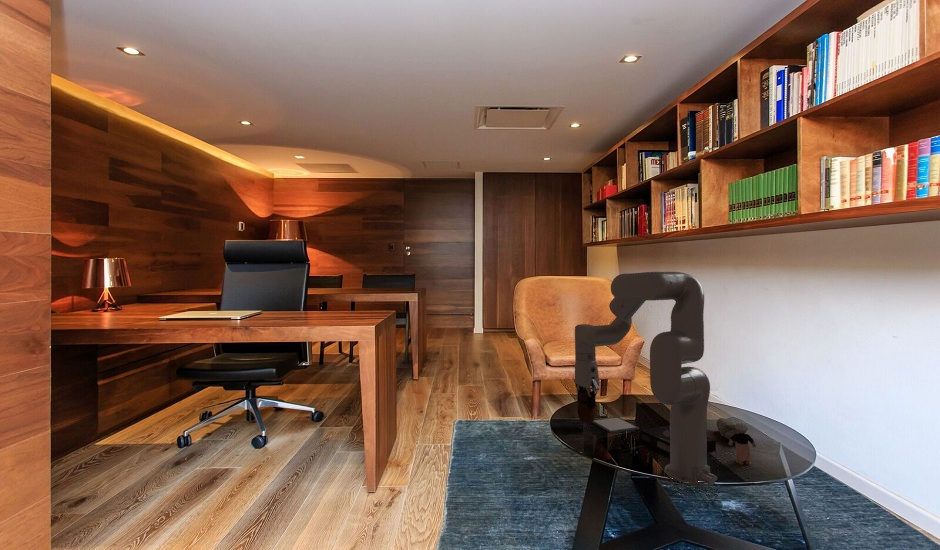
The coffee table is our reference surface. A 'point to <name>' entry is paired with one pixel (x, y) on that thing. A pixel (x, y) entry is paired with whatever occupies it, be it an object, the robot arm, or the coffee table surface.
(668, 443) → the portable cd player
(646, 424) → the coffee table surface
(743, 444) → the toy figure
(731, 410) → the coffee table surface
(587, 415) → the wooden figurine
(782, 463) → the coffee table surface
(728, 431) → the decorative bird
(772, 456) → the coffee table surface
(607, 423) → the card
